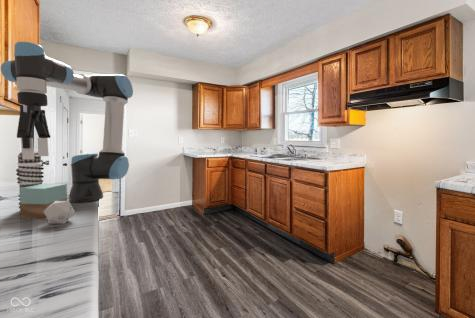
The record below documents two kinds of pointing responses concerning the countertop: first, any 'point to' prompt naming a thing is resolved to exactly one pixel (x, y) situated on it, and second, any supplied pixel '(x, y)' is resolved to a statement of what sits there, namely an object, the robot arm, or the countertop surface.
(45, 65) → the robot arm
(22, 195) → the tower top
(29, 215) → the tower base
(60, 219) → the die
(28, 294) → the countertop surface
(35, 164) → the decorative candle
